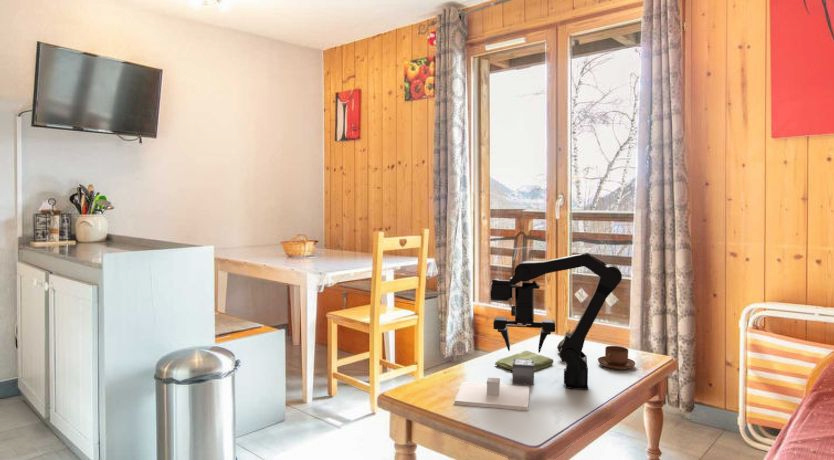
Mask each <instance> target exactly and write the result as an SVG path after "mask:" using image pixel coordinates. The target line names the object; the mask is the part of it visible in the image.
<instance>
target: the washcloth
mask: <svg viewBox="0 0 834 460" xmlns="http://www.w3.org/2000/svg"><path fill="white" fill-rule="evenodd" d="M514 358H516V359H532V360H534V372H536V371H539V370H542V369H544V368H548V367H550V366H553V364H554V359H553V358H551V357H548V356H545V355H542V354H537V353H536V352H532V351H529V350H523V351H522V352H518V353H515V354H512V355H509V356H506V357H502V358H499V359H497V361H495V363H494V365H496V366H497V367H500V368H503V369H506V370H509V371H513V359H514Z"/></svg>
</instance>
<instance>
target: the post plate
mask: <svg viewBox="0 0 834 460" xmlns="http://www.w3.org/2000/svg"><path fill="white" fill-rule="evenodd" d="M529 397H530V386H523V385H511V384H501V379H500V377H499V378H497V377H487V379H486V383H484V382H474V381H473V382H470V381H462V382H461V385H460V387H459V390H458V391H457V394H456V396H455V399H454V405H460V406H471V407H483V408H484V407H485V408H492V409H493V408H495V409H506V410H518V411H529V399H530V398H529Z"/></svg>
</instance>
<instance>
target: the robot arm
mask: <svg viewBox="0 0 834 460" xmlns="http://www.w3.org/2000/svg"><path fill="white" fill-rule="evenodd" d="M581 267H585V268H586V269H588V270H589V271H590V272H592V273H593V274H595V275H596V276H598V278H597V281H596V284H595V285H596V286H595V289H594V291H593V294H592V295H591V296H590V299H589V301H588V302H587V305H586V307H585V308H584V310H583V311H582V314H581V316H580V318H579V320H578V322H577V324H576V325H575V327H574V329H573V330H572V331H571V332H570V333H569V332H568V331H565V333H564V337H563V339H562V340H561V341H559V343H560V348H561V351H560V355H561V358H562V359H563V360H564V361H565V362H564V363H566V364H565V368H564V369H563V384H564V385H565V388H566V389H576V390H589V386H588V385H589V384H588V383H589V382H588V381H589V376H588V375H589V367H588V357H587V356H588V355H586V354H585V353H584V352H583V348H584V344H585V340H586V337H587V335H588V333H589V332H590V330H591V328H592V326H593V325H594V322H595V320H596V319H597V317H598V315H599V314H600V313H599V312H600V311H601V309H602V307H603V306H604V303H605V302H606V300H607V298H608V297H609V296H610V295H611V293H612V292H614V291H615V289H616V288H617V287H618V286H619V285H620V283H621V282H622V279H623V275H622V272H621V270H620V269H619V267H618V266H616V265H615V264H610V263H609V264H607V263H605V262H604V261H602V260H600V259H598V258H597V257H595V256H593V255H592V254H591V253H590V252H587V251H584V252H581V253H577V254H572V255H568V256H562V257H558V258H557V257H556V258H554V259H548V260H523V261H521V262H519V263H518V264H517V265H516V266H515V268H514V274H513V276H510V278H509V279H498V278H493V279H492V280H491V288H490V294H489V295H490V300H491V301H493V302H494V301H495V302H510V300H511V299H514V305H511V307H510V308H511V310H510V316H511V317H514V320H509V319H508V317H506V316H504V317H503V316H496V317H495V318H494V320H493V322H492V323H493V330H497V333H500V334H501V336H502V338H503V340H504V342H505V345H506V348H507V350H508V352H510V350H511V345H510V344H511V342H510V335H509V327H511V328H512V327H514V328H533V329H534V328H535V329H540V336H539V341H538V346H537V347H538V349H537V350H538V353H540V352H541V350H542V347H543V345H544V341H546V338H547V337H548V335H551V333H555V332H556V321H555V320H554V319H549V318H542V319H541V321H534V320H535V307H534V304H535V303H534V302H535V300H534V299H535V295H534V293H535V292H534V291H535V290H539V289H540V288H541V285H540V283H538V282H537V281H536V279H537V278H539V277H542V276H543V275H546V274H550V273H551V274H553V273H557V272H562V271H565V270H566V271H568V270H572V269H577V268H581ZM531 280H533V281H532V282H530V281H531ZM521 282H522V284H520V283H521ZM561 358H560V359H561Z"/></svg>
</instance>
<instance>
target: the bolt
mask: <svg viewBox="0 0 834 460" xmlns="http://www.w3.org/2000/svg"><path fill="white" fill-rule="evenodd" d="M556 349H557V350H558V352H559V353H558V356H559V357H560V360H561V361H562V362H564V363H566V362H565V361H564V360H563V359H562V358H561V355H560V351H561V348H560V342H559V343H558V344H557V346H556Z"/></svg>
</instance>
